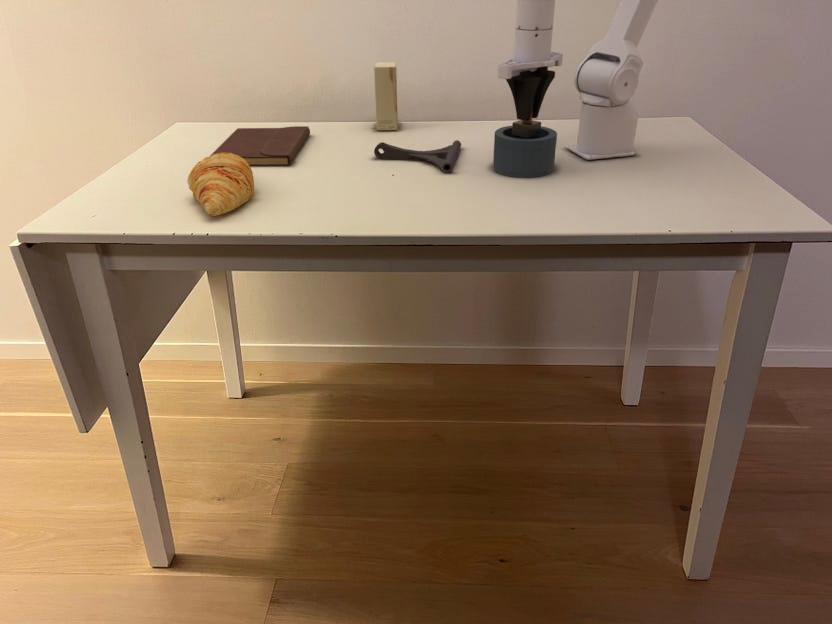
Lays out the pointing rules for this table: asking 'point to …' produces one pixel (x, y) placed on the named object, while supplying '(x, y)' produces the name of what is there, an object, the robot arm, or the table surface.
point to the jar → (524, 153)
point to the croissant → (221, 182)
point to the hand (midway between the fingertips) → (527, 118)
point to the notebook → (266, 145)
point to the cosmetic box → (386, 95)
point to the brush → (526, 127)
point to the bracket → (421, 154)
